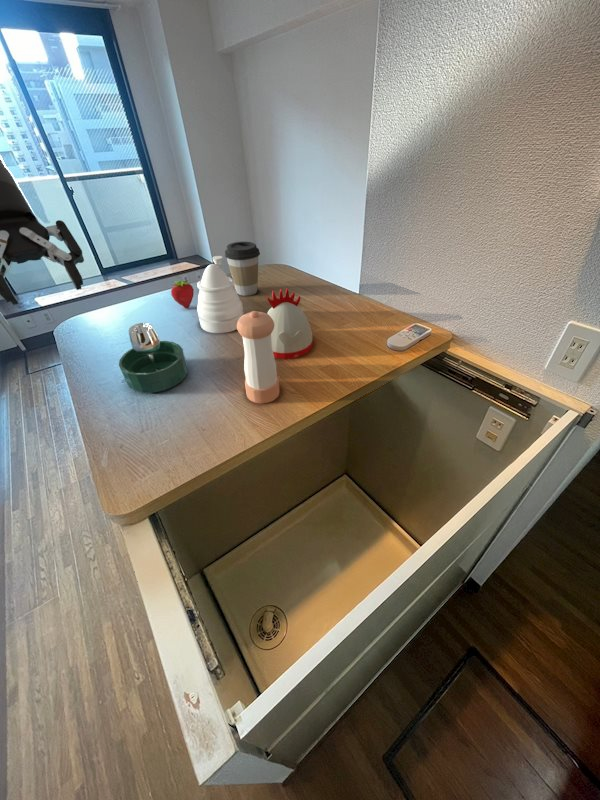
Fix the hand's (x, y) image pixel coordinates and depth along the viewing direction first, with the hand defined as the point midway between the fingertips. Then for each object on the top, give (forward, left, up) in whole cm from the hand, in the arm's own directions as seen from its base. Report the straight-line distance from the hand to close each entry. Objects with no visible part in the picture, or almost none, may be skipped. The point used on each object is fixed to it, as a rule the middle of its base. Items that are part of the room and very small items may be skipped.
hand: (48, 294), depth 49 cm
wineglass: (+5, +14, -25) cm, 29 cm away
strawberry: (+3, +49, -26) cm, 56 cm away
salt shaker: (+30, +6, -26) cm, 40 cm away
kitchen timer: (+35, +26, -26) cm, 51 cm away
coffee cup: (+21, +61, -26) cm, 70 cm away
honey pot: (+16, +39, -26) cm, 50 cm away
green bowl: (+5, +13, -26) cm, 30 cm away
